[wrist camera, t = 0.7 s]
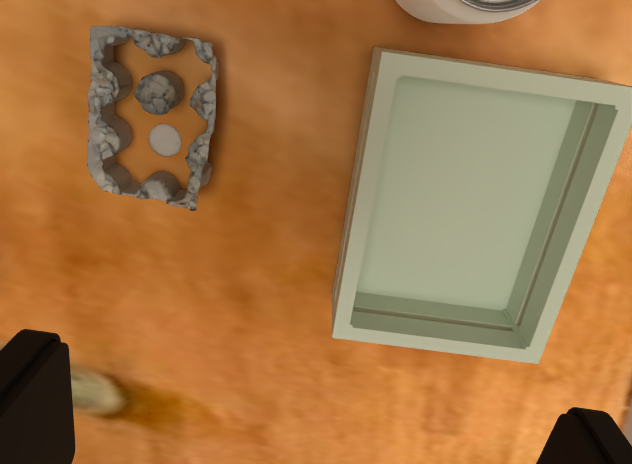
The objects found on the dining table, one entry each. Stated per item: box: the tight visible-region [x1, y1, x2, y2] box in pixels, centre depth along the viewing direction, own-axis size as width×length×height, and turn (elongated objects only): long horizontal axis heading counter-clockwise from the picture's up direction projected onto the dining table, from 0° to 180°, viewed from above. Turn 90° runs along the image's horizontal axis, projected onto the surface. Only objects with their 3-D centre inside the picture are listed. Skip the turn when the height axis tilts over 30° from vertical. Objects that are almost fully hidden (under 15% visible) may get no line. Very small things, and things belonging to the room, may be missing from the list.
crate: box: [332, 47, 632, 364], centre depth 31 cm, size 18×14×6 cm
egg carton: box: [87, 26, 219, 211], centre depth 31 cm, size 11×8×4 cm
